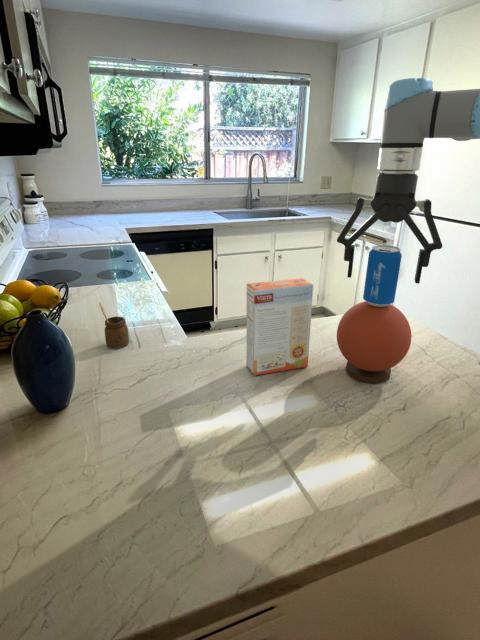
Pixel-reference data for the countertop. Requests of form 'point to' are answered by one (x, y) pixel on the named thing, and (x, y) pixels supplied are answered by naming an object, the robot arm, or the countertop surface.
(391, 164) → the robot arm
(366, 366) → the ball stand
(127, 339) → the brown jar with stick
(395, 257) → the beverage can
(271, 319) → the cracker box
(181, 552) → the countertop surface
